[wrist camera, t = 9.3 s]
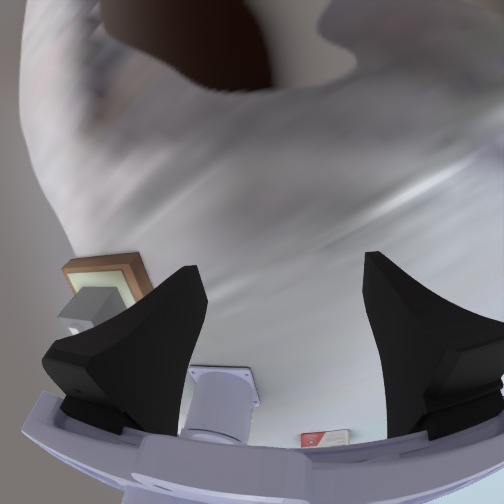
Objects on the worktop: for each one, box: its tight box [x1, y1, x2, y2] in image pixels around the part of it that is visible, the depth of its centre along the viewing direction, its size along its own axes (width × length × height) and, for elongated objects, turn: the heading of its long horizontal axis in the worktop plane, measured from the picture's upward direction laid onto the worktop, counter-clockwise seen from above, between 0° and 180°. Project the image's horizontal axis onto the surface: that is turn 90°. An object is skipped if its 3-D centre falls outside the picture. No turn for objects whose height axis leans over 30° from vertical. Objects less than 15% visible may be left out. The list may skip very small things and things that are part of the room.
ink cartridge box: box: [301, 429, 349, 448], centre depth 35 cm, size 9×5×15 cm, turn 104°
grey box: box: [57, 287, 127, 336], centre depth 24 cm, size 5×8×6 cm, turn 8°
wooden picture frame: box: [62, 252, 153, 309], centre depth 28 cm, size 13×10×2 cm
